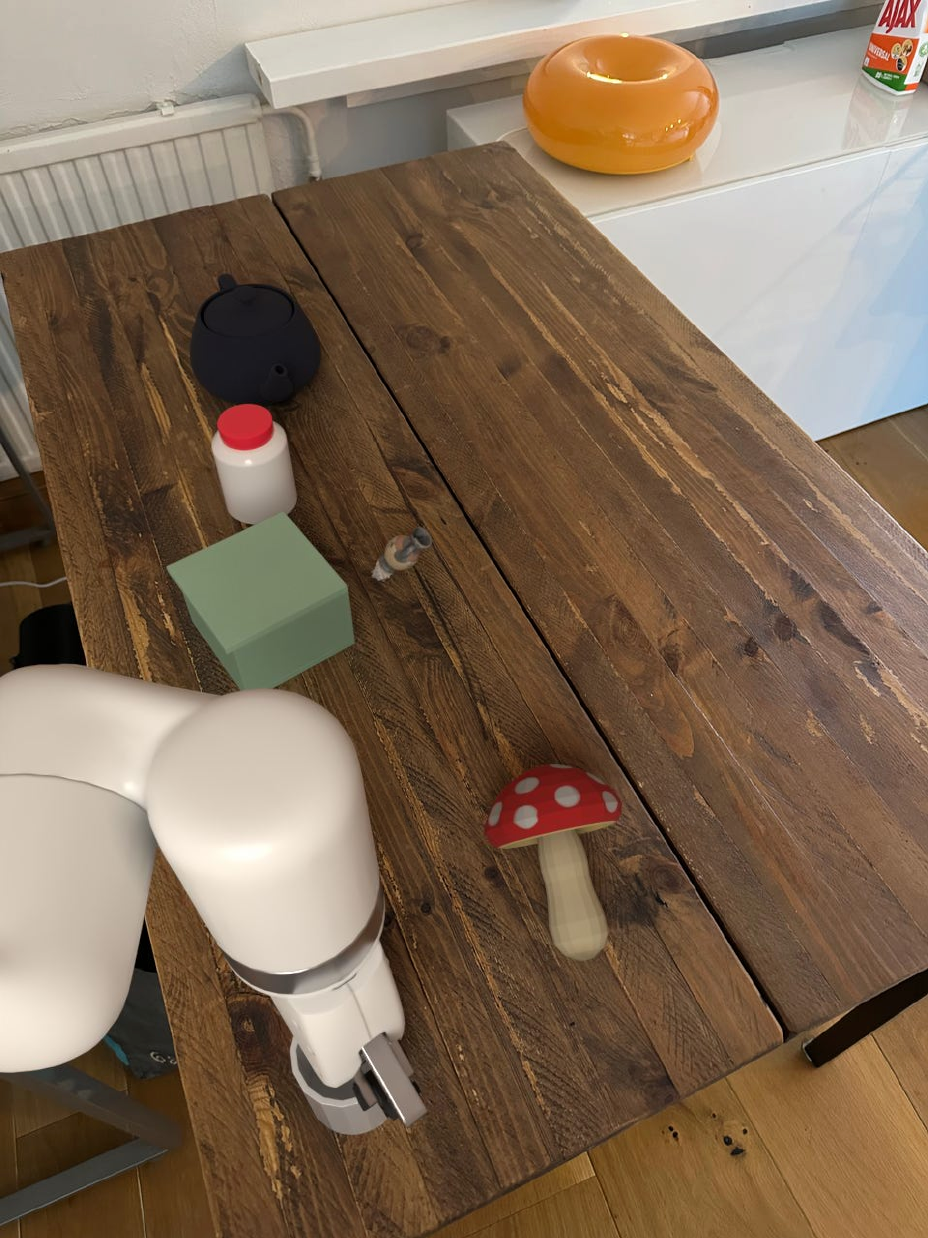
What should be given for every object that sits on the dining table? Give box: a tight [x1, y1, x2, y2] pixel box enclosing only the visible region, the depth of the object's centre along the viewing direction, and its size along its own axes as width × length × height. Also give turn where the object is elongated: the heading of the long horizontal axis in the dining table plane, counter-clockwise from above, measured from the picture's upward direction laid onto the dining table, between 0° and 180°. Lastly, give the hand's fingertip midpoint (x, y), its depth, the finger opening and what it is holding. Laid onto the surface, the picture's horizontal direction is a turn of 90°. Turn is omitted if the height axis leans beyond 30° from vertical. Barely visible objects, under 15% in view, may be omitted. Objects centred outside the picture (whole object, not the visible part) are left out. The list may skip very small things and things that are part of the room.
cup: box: [289, 1035, 399, 1136], centre depth 64 cm, size 7×7×9 cm
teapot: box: [189, 273, 322, 407], centre depth 112 cm, size 25×16×12 cm, turn 25°
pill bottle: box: [210, 404, 298, 526], centre depth 100 cm, size 8×8×11 cm
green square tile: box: [166, 511, 349, 654], centre depth 86 cm, size 12×12×1 cm
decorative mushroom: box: [484, 763, 623, 962], centre depth 74 cm, size 11×11×15 cm
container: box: [181, 591, 356, 691], centre depth 89 cm, size 12×12×8 cm
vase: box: [370, 526, 433, 582], centre depth 95 cm, size 5×5×6 cm
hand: (339, 1016), depth 55 cm, fingers open, 9 cm apart
